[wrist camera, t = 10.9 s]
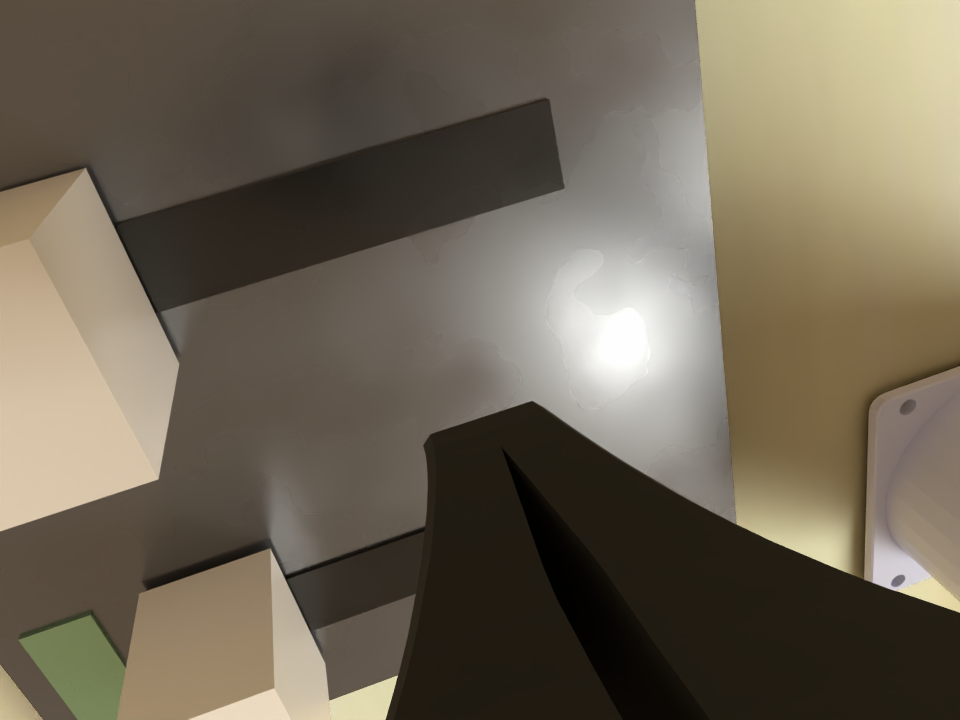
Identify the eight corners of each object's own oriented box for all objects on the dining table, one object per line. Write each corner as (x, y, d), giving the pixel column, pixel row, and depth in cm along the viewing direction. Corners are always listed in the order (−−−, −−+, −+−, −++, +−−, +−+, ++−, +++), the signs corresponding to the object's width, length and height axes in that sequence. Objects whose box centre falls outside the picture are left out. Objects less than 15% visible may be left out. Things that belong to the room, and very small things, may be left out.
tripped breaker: (85, 168, 14) (28, 238, 10) (179, 364, 16) (159, 478, 12) (-94, 218, 13) (-215, 309, 10) (25, 412, 15) (-42, 544, 12)
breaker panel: (632, -277, 14) (673, -303, 13) (711, 516, 24) (740, 551, 22) (-449, -22, 12) (-540, -20, 11) (105, 737, 21) (95, 790, 20)
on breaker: (270, 548, 18) (274, 688, 15) (325, 663, 20) (340, 811, 17) (139, 593, 18) (111, 747, 14) (208, 706, 20) (198, 866, 16)
